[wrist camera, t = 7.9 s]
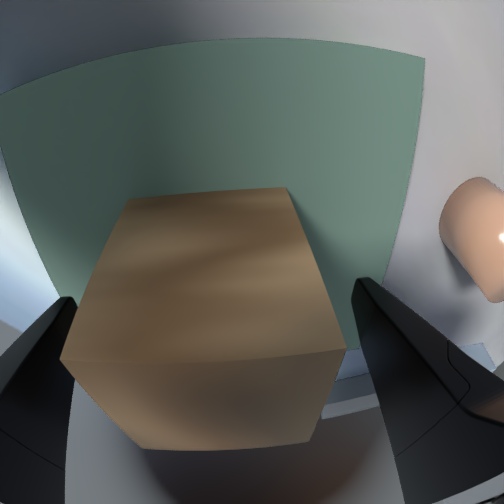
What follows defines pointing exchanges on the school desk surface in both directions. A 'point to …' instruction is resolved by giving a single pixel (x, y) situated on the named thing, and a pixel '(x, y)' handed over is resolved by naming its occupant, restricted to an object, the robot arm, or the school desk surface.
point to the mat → (220, 146)
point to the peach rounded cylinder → (477, 233)
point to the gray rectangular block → (350, 396)
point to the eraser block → (479, 355)
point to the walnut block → (207, 324)
